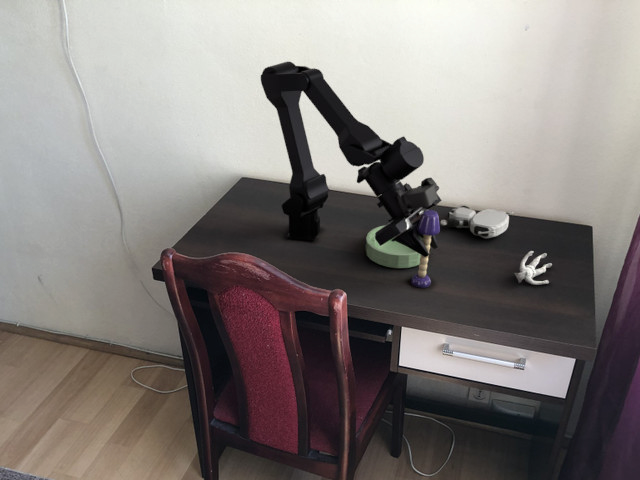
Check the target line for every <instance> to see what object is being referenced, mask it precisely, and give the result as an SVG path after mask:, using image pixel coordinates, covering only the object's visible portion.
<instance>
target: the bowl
mask: <svg viewBox="0 0 640 480" xmlns="http://www.w3.org/2000/svg"><path fill="white" fill-rule="evenodd" d="M385 225H386V224H385ZM385 225H380V226H377V227H374V228H372V229H371V230H370V231H369V232H368V233H367V236H366V237H365V254H366V256H367V257H368V258H369V260H370V261H372V262H374V263H375V264H378V265H381V266H383V267H387V268H393V269H408V268H412V267H413V268H414V267H417V266H419V264H420V257H421V254H419V253H417V252H416V251H414V250H412V249H410V248H409V247H407V246H405V245H403V244H400V243H398V242H396V241H394V242H392V239H393V238H392V239H391V240H389V241H388V242H386V243H385V244H383V245H381V246H380V245H379V244H378V242H377V241H376V239H375V233H376V232H377V231H378V230H380V229H381V228H382V227H384V226H385ZM420 238H421V237H420ZM421 240H422V238H421Z"/></svg>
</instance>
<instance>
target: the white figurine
mask: <svg viewBox="0 0 640 480" xmlns="http://www.w3.org/2000/svg"><path fill="white" fill-rule="evenodd" d="M533 253H535V251H534V250H530V251H528V252H527V254H525V255H524V257H523V258H522V260H521V261H520V264H519V272H514V273H513V274H514V276H515V277H516V279H517V281H518V283H519V284H520V283H522V281H523V280H524V281H525V282H526V283H528V284H531V285H533V286H539V285H546V284H547V285H548V283H549V280H548V279H546V280H543V281H540V280H534V279H533V278H534V277H537V276H540V275H541V274H544V273H546V271H547V268H551V267H552V266H553V264H552V262H549V263H547V264H543V265H542V267H540V268H537V265H539V263H540V260H541V259H544V258H546V257H547V255H548V254H547V253H546V252H544V253H542V254H540V255H538V256H536V257H535V258H533V259H532V261H531V262H530V263H529V264H528V265H526V263H527V260H528V259H529V257H530V256H531V257H532V256H533Z"/></svg>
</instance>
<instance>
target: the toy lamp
mask: <svg viewBox="0 0 640 480" xmlns="http://www.w3.org/2000/svg"><path fill="white" fill-rule="evenodd" d="M417 230H418V232H419V233H421V234H423V236H424V237H423V239H422V241H423V243H424V245H425V246H426V248H427V250H428V252H429V253H430V249H431V246H430V243H431V236H433V235H435V236H436V235H438V234H439V233H440V231H441V224H440V219H439V213H438V212H437V211H433V209H428V210H426V211H424V212H423V214H422V216H421V219H420V221H419V224H418V226H417ZM429 256H430V254H429V255H428V256H427V257H424V256H422V255H421V257H420V264H419V265H418V271H417V273H416V274H414V275H413V276H412V277H411V279H410V283H411V284H412V286H414V287H416V288H421V289H425V288H429V287H430V286H431V284H432V280H431V278H430V276H429V275H428V274H427V269H428V263H429Z"/></svg>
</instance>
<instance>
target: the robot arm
mask: <svg viewBox="0 0 640 480" xmlns="http://www.w3.org/2000/svg"><path fill="white" fill-rule="evenodd" d="M260 84H261V87H262V89H263V92H264V94H265V97H266V99H267V100H268V101H269V103H270V104H271V105H272V106H273V107H274V108H275V110H276V112H277V116H278V120H279V124H280V128H281V132H282V136H283V140H284V144H285V148H286V153H287V156H288V160H289V165H290V169H291V177H290V182H289V186H288V188H289V198H288V199H287V200H285V201H284V202H283V203H282V204H281V209H282V213H283V214H284V215H286V216H288V234H287V236H286V238H287V239H289V240H297V241H298V240H299V241H307V242H314V241H315V240H316V238H317V237H318V236H319V233H320V231H321V216H320V215H319V213H318V212H319V209H322V208H323V207H324V204H325V203H326V202H327V200H328V198H329V191H330V188H329V186H328V183H327V176H326V175H325V173H322V174H321V173H320V172H318V170H317V169H316V168H315V166H314V162H313V158H312V154H311V150H310V145H309V142H308V138H307V132H306V129H305V124H304V119H303V116H302V115H303V114H302V112H301V107H300V100H301V97H302V92H303V94H304V95H306V97H307V98H308V100H309V101H310V103H312V105H313V106H314V107H315V109H316V110H317V111H318V113H319V114H320V115H321V117H323V119H324V121H326V123H327V124H328V125H329V126H330V128H331V130H333V132H334V133H335V135H336V137H337V141H338V148H339V150H340V151H341V153H342V155H343V156H344V158H345V160H346V161H347V163H348V164H349V165H351V166H352V167H361V166H362V167H361V168H358V169H357V178H356V183H357V184H360V183H362V182H364V181H365V182H366V184H368V186H369V187H370V189H371V190H372V192H373V194H374V195H375V196H376V198H377V199H378V201H379V202H378V203H376V205H377V207H378V208H379V209H381V208H382V207H383V208H384V209H385V211H386V212H387V214H388V215H389V217H390V218H389V219H388V223H387V224H385V226H384V225H383V226H384V227H382V228H381V229H380V230H378V231H377V232H376V233H375V239H376V241H377V242H378V244H379V245H380V246H381V245H383V244H385V243H386V242H388V241H389V240H391V239H392V238H393V239H392V242H394V241H396V242H398V243H400V244H403V245H405V246H407V247H409V248H410V249H412V250H414V251H416V252H417V253H419V254H421V255H422V256H424V257H427V256H428V255H429V256H430V251H429V252H428V250H427V248H426V246H425V245H424V243H423V241H422V240H421V238H422V239H423V237H424V236H423V234H421V233H419V232H418V230H417V226H418V224H419V221H420V219H421V216H422V214H423V212H424V211H426V210H430V209H431V208H433V207H435V206H437V205H438V204H440V203H441V202H442V199H441V197H440V196H439V195H438V193H437V192H438V191H439V190H440V186H439V185H438V184H437V182H436V181H435V180H434V179H433V178H432V177H426V178H424V179H423V180H421V183H420V185H418V186H417V187H412V186H411V185H410V183H408V182H406V183H404V184H403V182H402V180H404V179H406V177H408V176H409V175H411V174H412V173H414V172H415V171H416V170H417V169H419V168H420V167H422V166H423V164H424V161H425V156H424V153H423V151H422V150H421V148H420V147H419V146H417V144H415V143H414V142H412V141H410V140H407V138H406V137H405V136H404V135H403V136H401V137H398V138H397V139H395V140H394V141H393V143H390V142H388V141H386V140H384V139H383V138H381V136H379V135H378V133H377V132H375V131H374V130H373V129H372V128H371V126H369V125H367V124H365V123H363V122H361V121H359V120H358V119H357V118H355V116H354V115H353V114H352V113H351V111H350V110H349V109H348V108H347V106H346V105H345V103H344V102H343V101H342V100H341V99H340V97H339V96H338V95H337V93H336V92H335V91H334V90H333V88H332V87H331V86H330V84H329V83H328V82H327V81H326V79H325V78H324V74H323V72H322V71H321V70H320V69H318V68H314V67H313V68H311V67H309V66H306V65H296V64H294V62H292V61H284V62H280V63H277V64H273V65H270V66H266V67H265V68H264V69H263V70H262V73H261V74H260ZM364 165H368V167H367V166H364ZM432 210H433V211H435V208H433V209H432ZM435 212H436V211H435ZM420 237H421V238H420ZM430 248H432V249H433V250H436V249H437V248H439V244H438V241H437V237H436V235H433V236H431V243H430ZM429 256H428V257H429Z"/></svg>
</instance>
